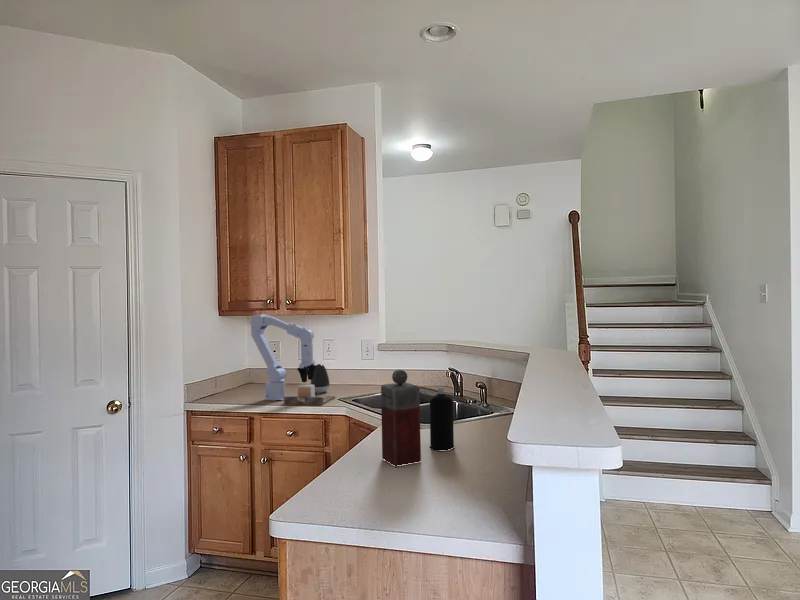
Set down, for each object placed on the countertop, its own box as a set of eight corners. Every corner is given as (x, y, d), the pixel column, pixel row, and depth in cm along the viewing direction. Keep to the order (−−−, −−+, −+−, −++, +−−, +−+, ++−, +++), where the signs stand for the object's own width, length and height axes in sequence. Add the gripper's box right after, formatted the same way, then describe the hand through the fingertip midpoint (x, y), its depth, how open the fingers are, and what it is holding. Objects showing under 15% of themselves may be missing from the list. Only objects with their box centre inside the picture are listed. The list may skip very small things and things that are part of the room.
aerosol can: (459, 449, 174) (458, 388, 174) (438, 453, 170) (437, 390, 170) (445, 443, 181) (444, 384, 181) (425, 447, 177) (423, 387, 177)
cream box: (301, 398, 262) (301, 384, 262) (314, 398, 261) (314, 384, 261) (297, 400, 257) (297, 386, 257) (311, 400, 256) (310, 386, 256)
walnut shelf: (283, 403, 255) (283, 396, 255) (298, 397, 272) (298, 390, 272) (322, 404, 250) (322, 397, 250) (335, 397, 267) (335, 391, 267)
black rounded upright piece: (331, 390, 290) (331, 362, 290) (327, 393, 279) (326, 365, 279) (313, 390, 291) (312, 362, 291) (308, 393, 280) (307, 365, 280)
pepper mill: (403, 453, 170) (402, 366, 170) (421, 462, 161) (419, 370, 160) (378, 457, 166) (376, 368, 166) (395, 467, 156) (393, 372, 156)
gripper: (308, 355, 256) (309, 383, 256) (320, 352, 270) (320, 378, 270) (295, 355, 258) (295, 383, 258) (307, 352, 272) (307, 378, 272)
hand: (307, 380), depth 264 cm, fingers open, 7 cm apart
